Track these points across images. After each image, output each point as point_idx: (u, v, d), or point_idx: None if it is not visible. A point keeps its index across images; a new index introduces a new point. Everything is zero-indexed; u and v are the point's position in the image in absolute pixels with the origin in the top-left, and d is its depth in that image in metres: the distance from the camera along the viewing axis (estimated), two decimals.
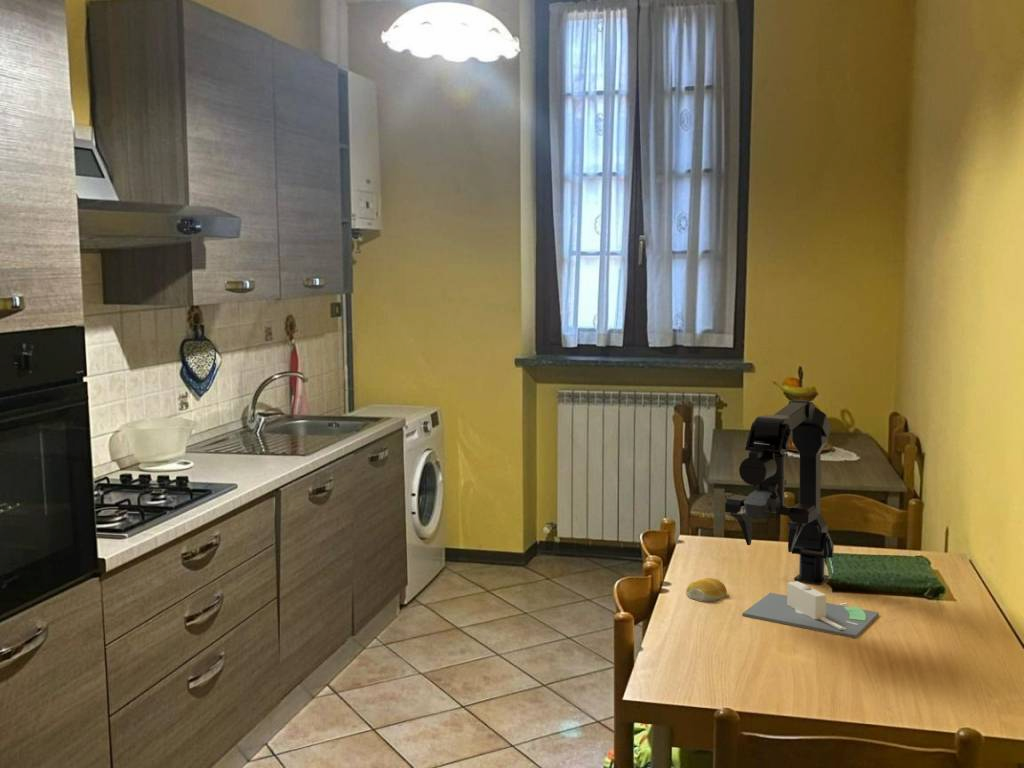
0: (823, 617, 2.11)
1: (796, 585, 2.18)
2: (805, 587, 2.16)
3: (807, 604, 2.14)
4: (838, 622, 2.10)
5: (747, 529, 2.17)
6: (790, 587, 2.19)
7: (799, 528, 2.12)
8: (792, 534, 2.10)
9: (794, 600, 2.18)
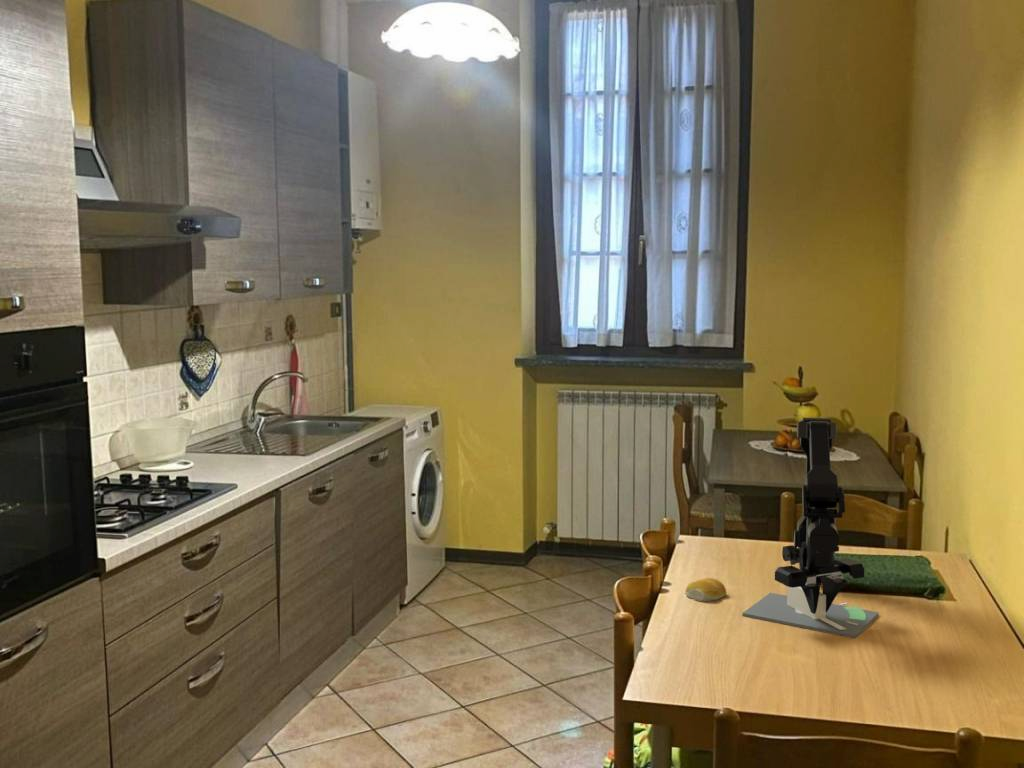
0: (823, 617, 2.11)
1: None
2: None
3: (807, 604, 2.14)
4: (838, 622, 2.10)
5: (823, 593, 2.13)
6: (790, 587, 2.19)
7: (811, 592, 2.10)
8: None
9: (794, 600, 2.18)
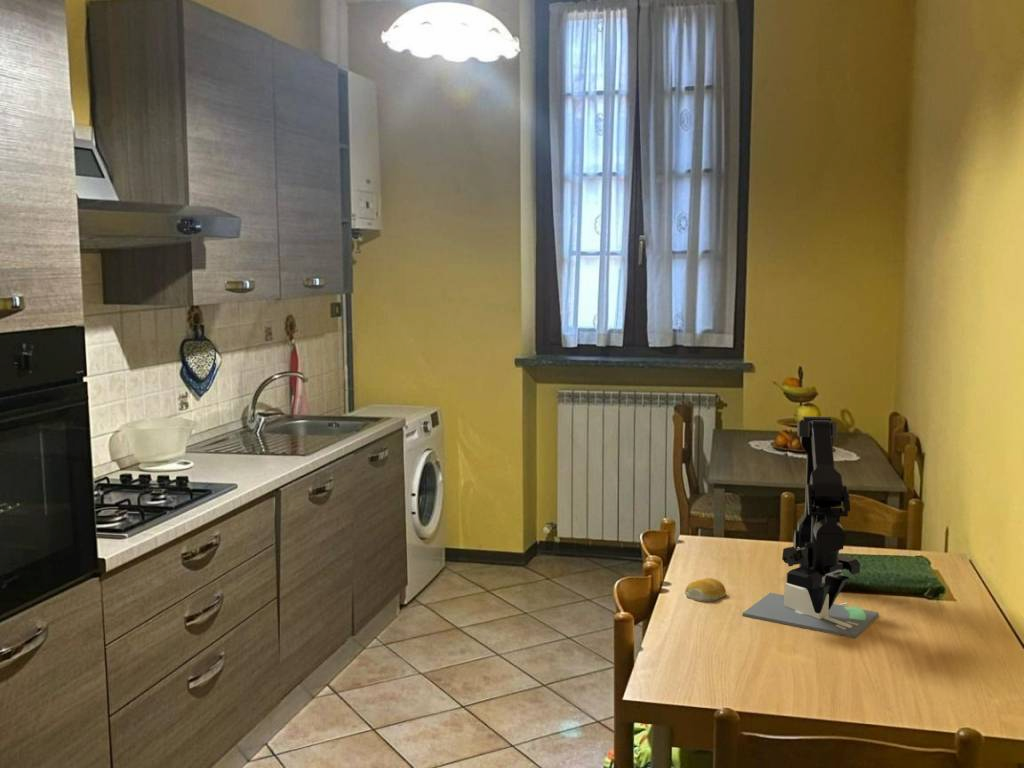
0: (827, 616, 2.12)
1: (795, 585, 2.18)
2: None
3: (809, 604, 2.14)
4: None
5: None
6: (788, 588, 2.19)
7: (819, 592, 2.09)
8: None
9: (793, 601, 2.18)
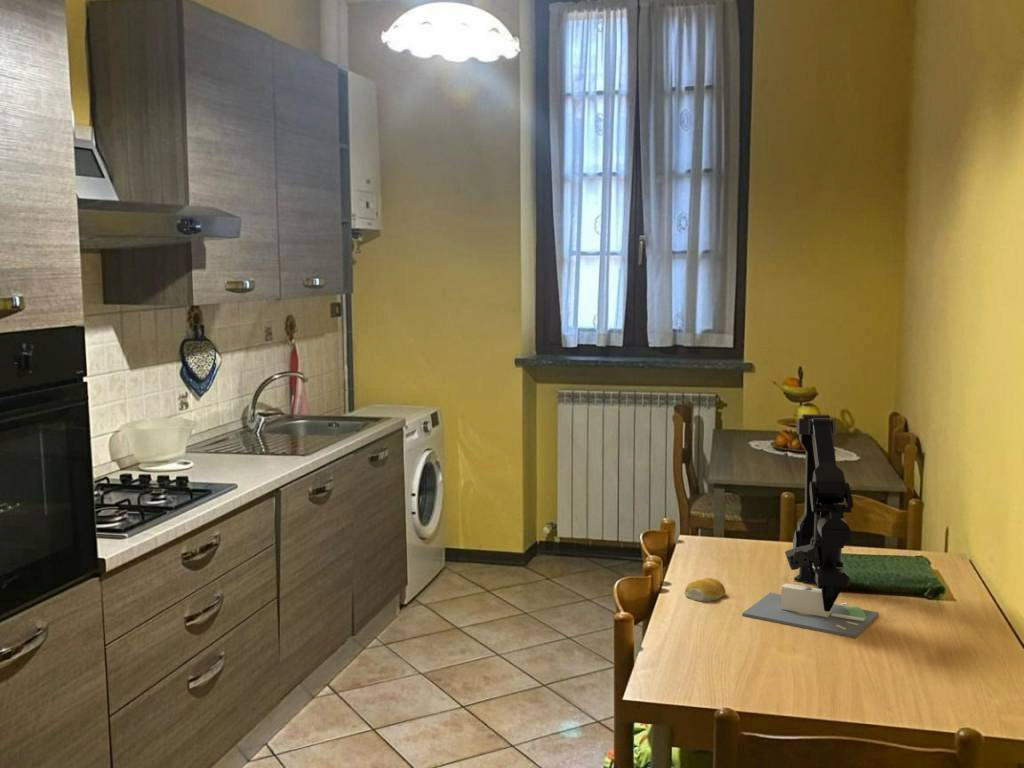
0: (832, 613, 2.14)
1: (792, 587, 2.17)
2: (805, 587, 2.16)
3: (815, 603, 2.14)
4: (838, 622, 2.10)
5: (820, 587, 2.17)
6: (786, 590, 2.17)
7: (834, 590, 2.10)
8: (822, 592, 2.11)
9: (793, 603, 2.17)
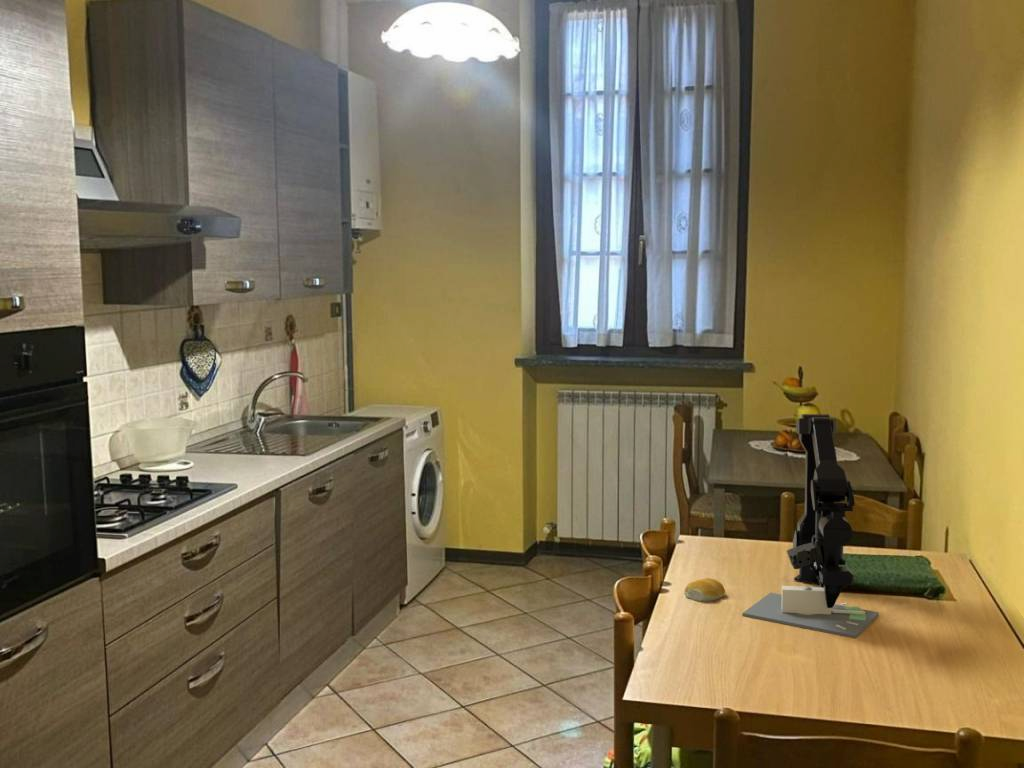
0: (833, 610, 2.16)
1: (792, 588, 2.16)
2: (805, 587, 2.16)
3: (817, 602, 2.15)
4: (838, 622, 2.10)
5: (823, 586, 2.17)
6: (788, 593, 2.15)
7: (837, 587, 2.12)
8: (824, 589, 2.13)
9: (795, 604, 2.15)
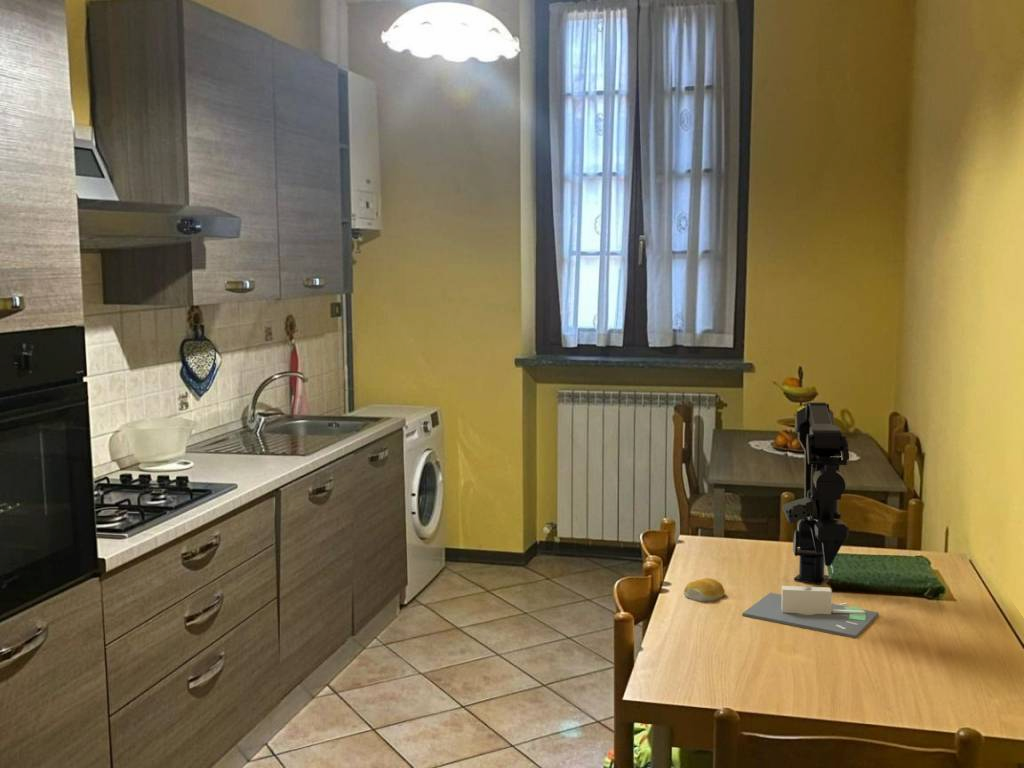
0: (833, 609, 2.16)
1: (792, 588, 2.16)
2: (805, 587, 2.16)
3: (817, 602, 2.15)
4: (838, 622, 2.10)
5: (815, 536, 2.21)
6: (788, 593, 2.15)
7: (835, 544, 2.10)
8: (823, 547, 2.11)
9: (795, 604, 2.15)
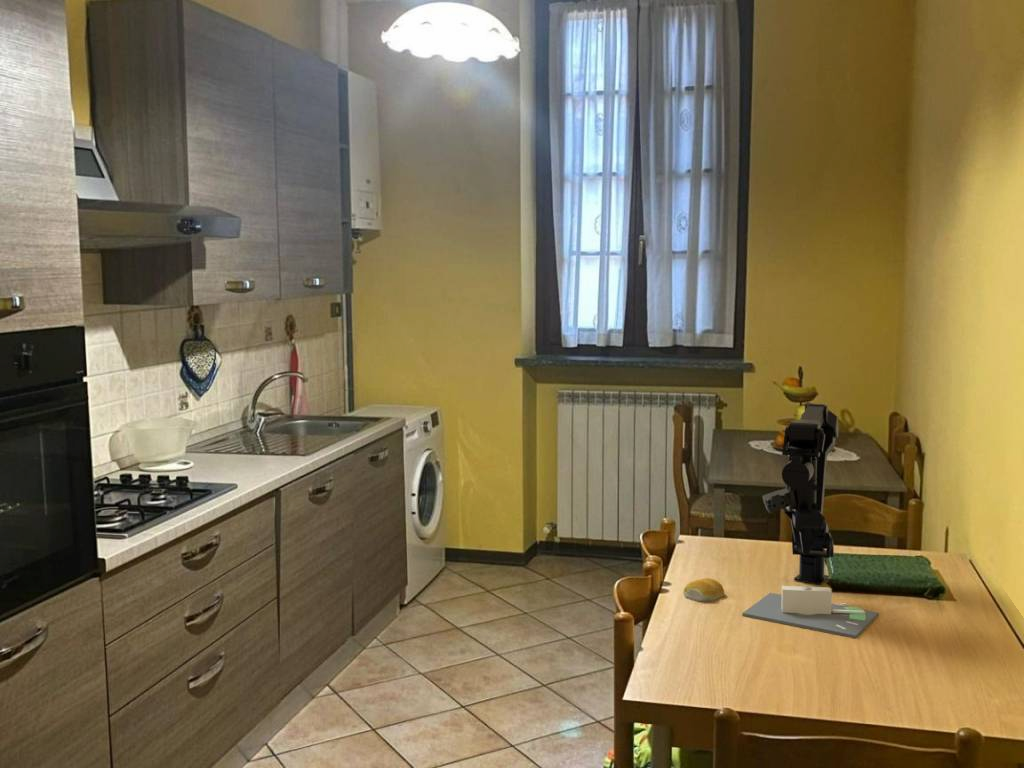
0: (833, 609, 2.16)
1: (792, 588, 2.16)
2: (805, 587, 2.16)
3: (817, 602, 2.15)
4: (838, 622, 2.10)
5: (794, 527, 2.28)
6: (788, 593, 2.15)
7: (812, 533, 2.17)
8: (800, 536, 2.18)
9: (795, 604, 2.15)
